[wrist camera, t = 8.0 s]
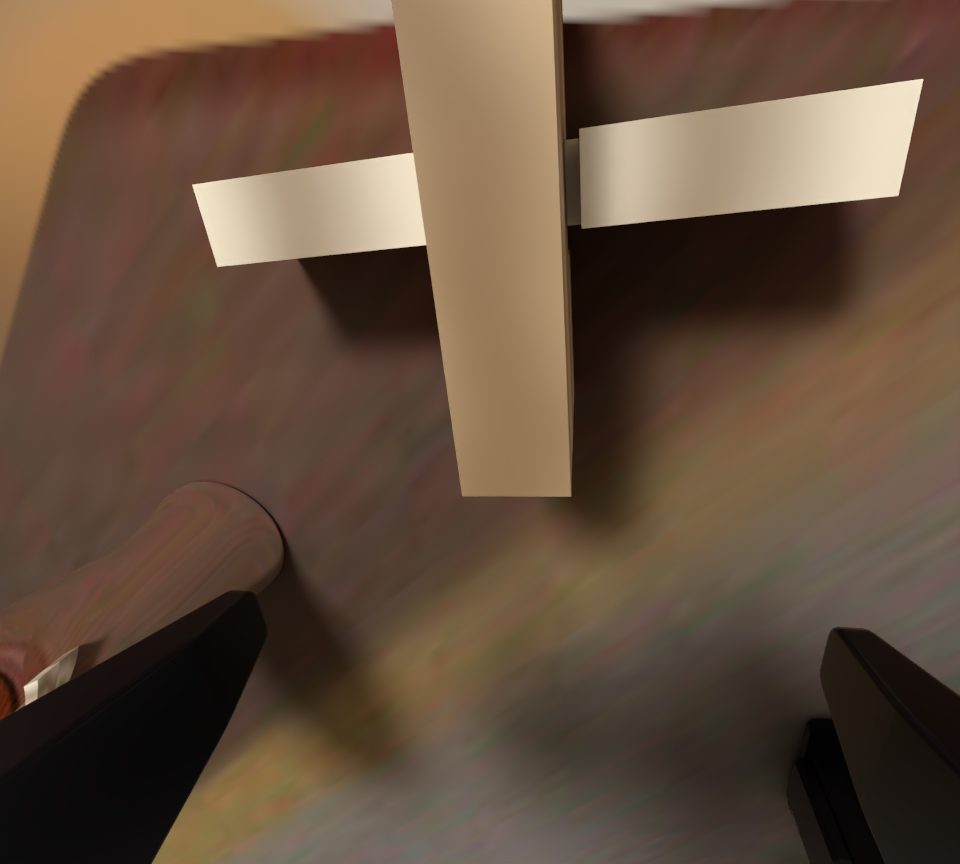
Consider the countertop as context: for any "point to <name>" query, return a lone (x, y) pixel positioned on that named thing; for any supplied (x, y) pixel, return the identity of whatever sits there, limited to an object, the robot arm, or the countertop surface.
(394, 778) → the countertop surface
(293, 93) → the countertop surface
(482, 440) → the tan block
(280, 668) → the countertop surface
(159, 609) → the beer glass
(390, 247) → the birch rail
